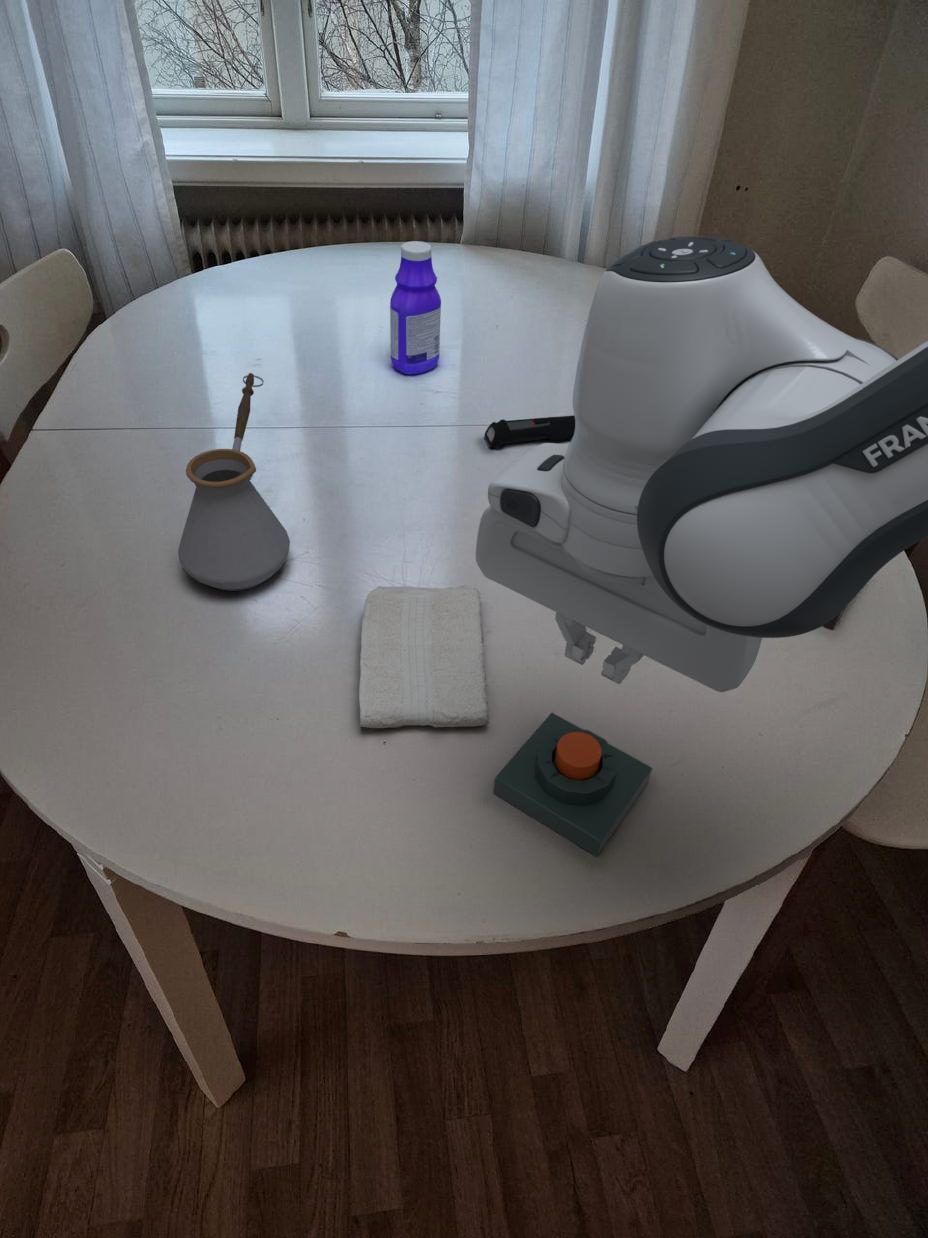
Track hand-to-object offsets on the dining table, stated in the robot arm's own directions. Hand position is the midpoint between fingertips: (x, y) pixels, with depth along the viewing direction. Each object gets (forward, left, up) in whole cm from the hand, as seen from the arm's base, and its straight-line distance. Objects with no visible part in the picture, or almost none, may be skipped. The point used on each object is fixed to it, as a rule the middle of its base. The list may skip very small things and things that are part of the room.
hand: (596, 665), depth 63 cm
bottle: (+57, -51, -15) cm, 78 cm away
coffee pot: (+46, -7, -15) cm, 49 cm away
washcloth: (+19, -4, -15) cm, 25 cm away
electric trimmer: (+32, -46, -15) cm, 58 cm away
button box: (0, 0, -15) cm, 15 cm away
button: (0, 0, -12) cm, 12 cm away
